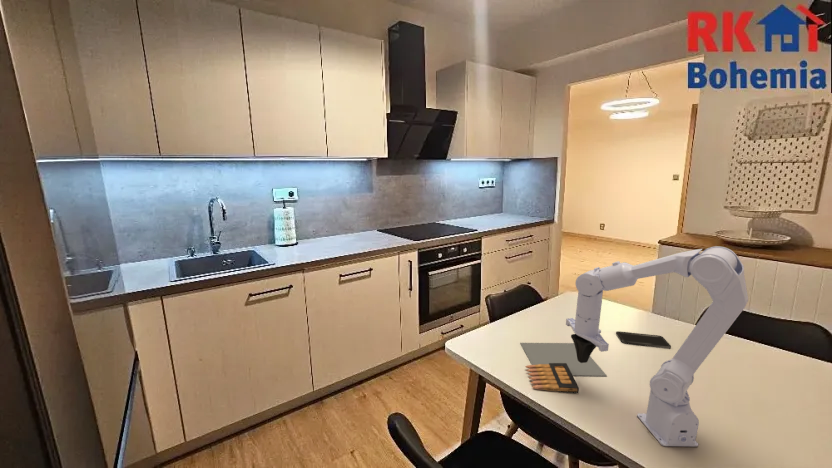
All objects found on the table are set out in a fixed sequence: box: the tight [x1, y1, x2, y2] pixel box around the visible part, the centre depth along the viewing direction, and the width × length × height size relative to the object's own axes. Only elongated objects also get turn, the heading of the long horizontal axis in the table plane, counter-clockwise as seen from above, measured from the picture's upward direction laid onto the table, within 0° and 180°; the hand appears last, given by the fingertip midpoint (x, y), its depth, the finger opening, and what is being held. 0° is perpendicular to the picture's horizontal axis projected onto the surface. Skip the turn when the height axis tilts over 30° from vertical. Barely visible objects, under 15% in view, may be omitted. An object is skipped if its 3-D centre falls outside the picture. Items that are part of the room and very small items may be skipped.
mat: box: [520, 342, 608, 377], centre depth 109 cm, size 18×20×1 cm
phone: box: [615, 330, 672, 350], centre depth 119 cm, size 8×1×15 cm
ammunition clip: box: [525, 363, 580, 394], centre depth 98 cm, size 11×2×12 cm
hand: (582, 361), depth 93 cm, fingers closed
